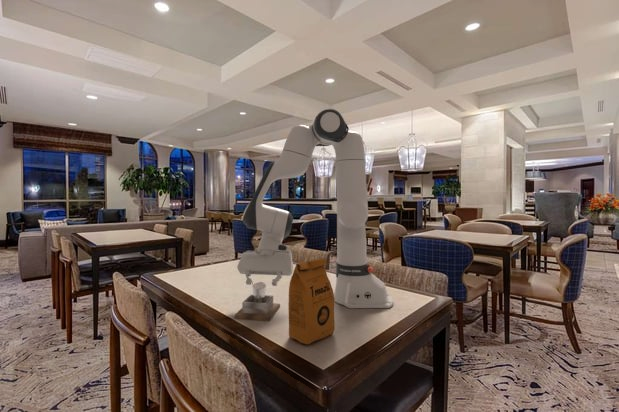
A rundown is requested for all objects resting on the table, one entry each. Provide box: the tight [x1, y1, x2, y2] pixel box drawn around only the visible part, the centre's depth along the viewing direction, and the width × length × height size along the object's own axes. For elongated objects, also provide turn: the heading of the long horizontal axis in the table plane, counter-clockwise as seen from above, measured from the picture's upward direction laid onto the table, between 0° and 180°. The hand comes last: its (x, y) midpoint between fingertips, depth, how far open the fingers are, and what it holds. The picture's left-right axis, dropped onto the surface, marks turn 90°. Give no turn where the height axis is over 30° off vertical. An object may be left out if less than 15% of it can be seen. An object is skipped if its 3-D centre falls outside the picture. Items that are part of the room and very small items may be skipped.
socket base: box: [234, 293, 281, 322], centre depth 104 cm, size 12×12×5 cm
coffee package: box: [288, 257, 336, 345], centre depth 86 cm, size 10×12×22 cm
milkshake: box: [251, 278, 267, 303], centre depth 104 cm, size 4×5×10 cm
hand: (261, 284), depth 106 cm, fingers open, 8 cm apart
